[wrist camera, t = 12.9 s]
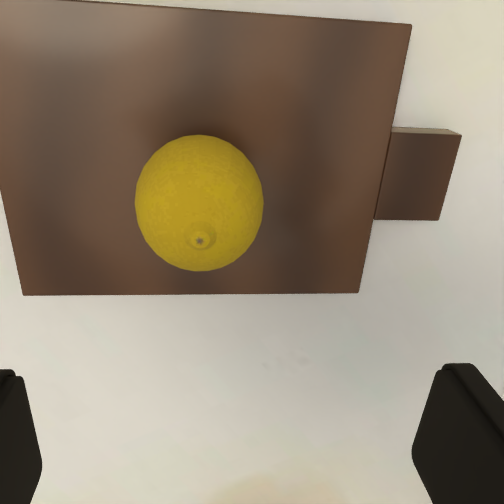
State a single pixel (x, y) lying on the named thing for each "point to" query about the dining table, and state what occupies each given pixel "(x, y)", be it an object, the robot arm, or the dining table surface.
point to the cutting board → (210, 124)
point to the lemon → (199, 203)
